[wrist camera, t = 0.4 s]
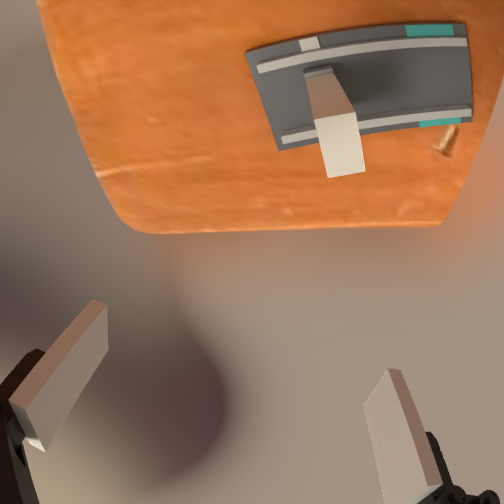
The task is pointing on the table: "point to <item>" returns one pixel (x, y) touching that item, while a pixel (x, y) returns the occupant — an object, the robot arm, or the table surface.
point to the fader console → (368, 77)
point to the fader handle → (334, 123)
